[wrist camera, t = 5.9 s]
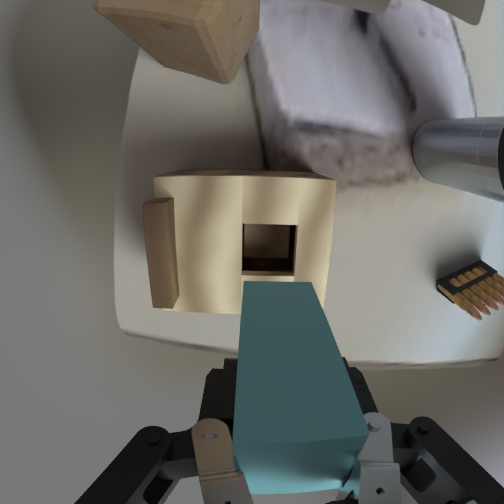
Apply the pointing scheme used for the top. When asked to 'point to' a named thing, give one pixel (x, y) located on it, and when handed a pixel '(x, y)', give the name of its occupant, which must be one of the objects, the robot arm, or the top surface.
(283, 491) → the teal block
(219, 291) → the lid
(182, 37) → the wooden block
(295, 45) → the top surface
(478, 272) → the ammunition clip
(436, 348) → the top surface
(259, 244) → the wooden box
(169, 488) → the robot arm
